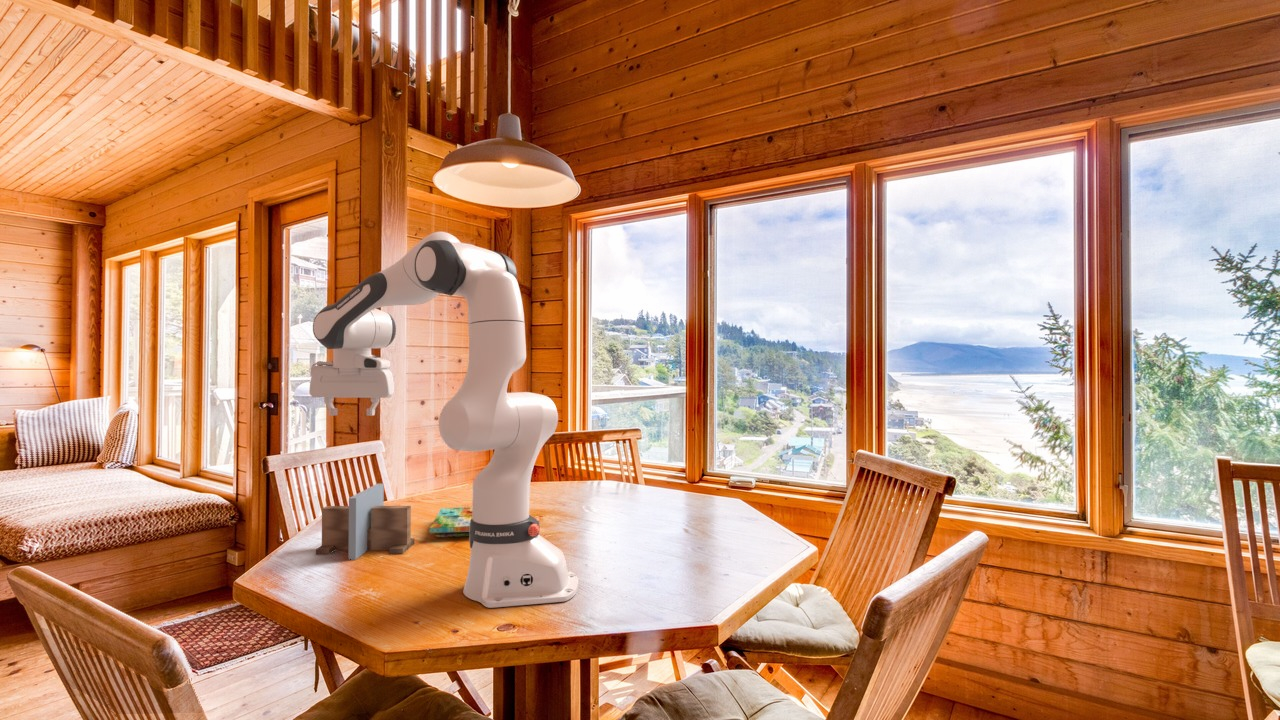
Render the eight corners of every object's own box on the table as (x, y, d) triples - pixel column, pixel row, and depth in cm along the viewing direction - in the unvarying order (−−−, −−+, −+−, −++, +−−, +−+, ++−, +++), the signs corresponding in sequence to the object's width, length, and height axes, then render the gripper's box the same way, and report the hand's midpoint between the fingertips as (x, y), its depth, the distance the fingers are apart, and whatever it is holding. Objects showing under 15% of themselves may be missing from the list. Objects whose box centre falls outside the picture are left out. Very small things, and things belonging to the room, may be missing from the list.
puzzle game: (484, 503, 170) (477, 522, 151) (484, 520, 170) (477, 541, 151) (441, 505, 168) (429, 524, 149) (441, 521, 168) (429, 543, 149)
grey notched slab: (355, 559, 135) (356, 498, 135) (348, 559, 135) (348, 498, 135) (383, 538, 151) (383, 483, 151) (376, 538, 151) (377, 483, 151)
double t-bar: (414, 543, 147) (414, 503, 147) (402, 553, 139) (403, 511, 139) (332, 543, 147) (332, 503, 147) (315, 554, 139) (316, 511, 139)
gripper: (304, 361, 149) (304, 416, 149) (387, 361, 150) (386, 416, 150) (317, 361, 156) (316, 414, 156) (396, 361, 156) (396, 414, 156)
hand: (351, 415), depth 153 cm, fingers open, 8 cm apart
